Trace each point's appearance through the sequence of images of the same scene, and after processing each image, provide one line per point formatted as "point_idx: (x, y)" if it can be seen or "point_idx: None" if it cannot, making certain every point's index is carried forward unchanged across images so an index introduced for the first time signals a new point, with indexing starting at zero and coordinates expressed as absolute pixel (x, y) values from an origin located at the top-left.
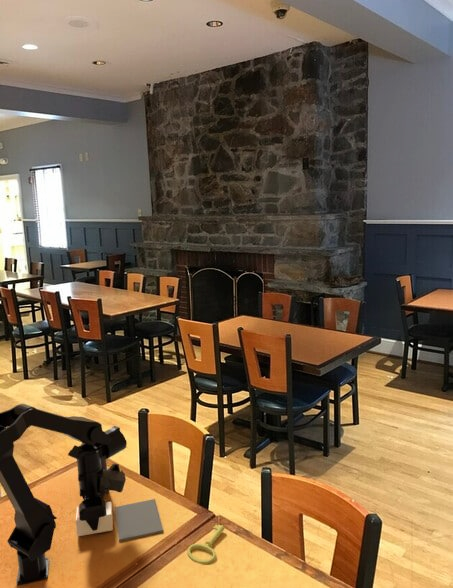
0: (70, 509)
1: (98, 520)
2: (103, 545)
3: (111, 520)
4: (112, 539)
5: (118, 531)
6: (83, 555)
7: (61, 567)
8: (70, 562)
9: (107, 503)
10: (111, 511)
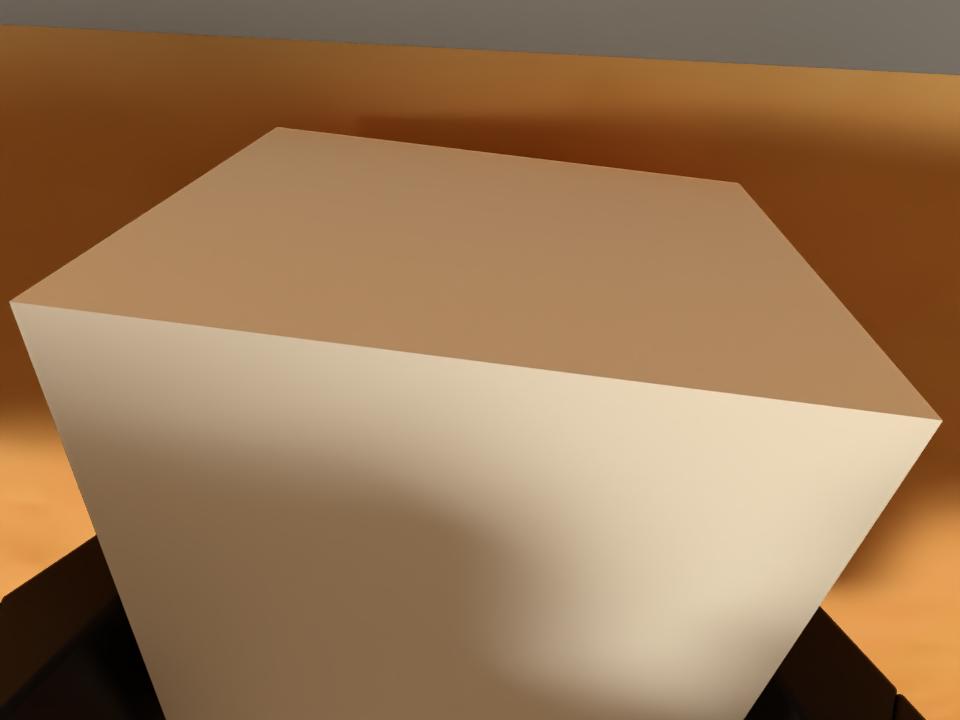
0: (5, 574)
1: (889, 683)
2: (947, 347)
3: (831, 296)
4: (907, 194)
5: (846, 56)
6: (942, 564)
7: (953, 709)
8: (948, 658)
9: (147, 432)
10: (524, 296)
